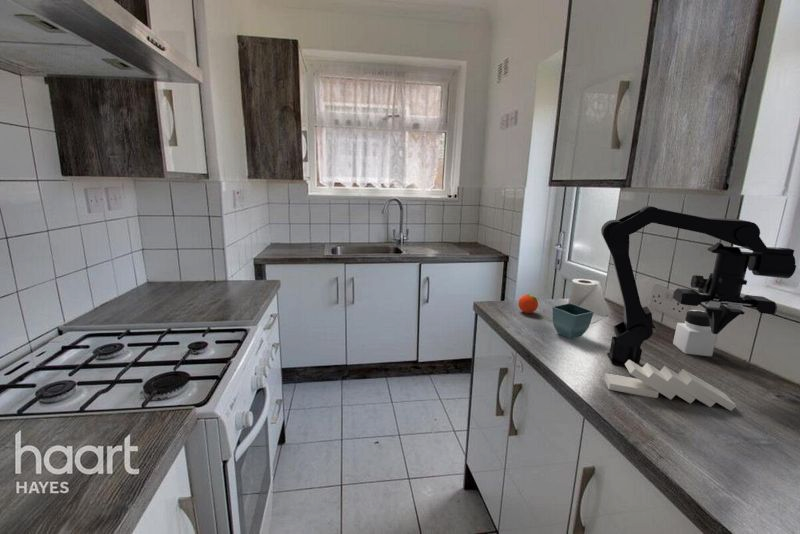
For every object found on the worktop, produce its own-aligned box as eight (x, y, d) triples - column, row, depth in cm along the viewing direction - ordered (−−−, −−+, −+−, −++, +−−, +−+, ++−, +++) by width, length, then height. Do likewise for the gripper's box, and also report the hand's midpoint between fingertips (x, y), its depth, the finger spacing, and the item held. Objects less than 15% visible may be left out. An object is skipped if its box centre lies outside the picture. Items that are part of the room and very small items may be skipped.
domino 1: (657, 398, 84) (608, 389, 87) (650, 387, 89) (604, 379, 92) (658, 392, 84) (609, 383, 87) (651, 381, 88) (605, 373, 91)
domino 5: (730, 411, 80) (686, 384, 82) (719, 398, 85) (677, 374, 86) (736, 405, 80) (692, 379, 81) (724, 393, 84) (682, 368, 86)
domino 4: (710, 407, 81) (667, 381, 83) (700, 395, 86) (659, 370, 87) (716, 402, 81) (672, 376, 82) (705, 390, 85) (664, 365, 87)
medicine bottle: (712, 357, 106) (722, 317, 103) (684, 354, 107) (693, 315, 104) (698, 346, 113) (707, 309, 110) (672, 343, 114) (680, 307, 111)
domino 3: (690, 403, 82) (648, 377, 84) (681, 392, 87) (642, 367, 89) (695, 398, 82) (653, 372, 83) (686, 387, 86) (646, 362, 88)
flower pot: (571, 343, 112) (575, 315, 110) (548, 332, 120) (551, 306, 118) (590, 338, 116) (594, 311, 114) (566, 328, 124) (570, 302, 122)
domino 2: (670, 399, 83) (630, 373, 85) (662, 388, 88) (624, 364, 90) (675, 394, 83) (634, 368, 84) (667, 383, 87) (629, 359, 89)
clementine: (542, 313, 137) (544, 294, 136) (536, 318, 132) (538, 299, 130) (521, 308, 142) (523, 290, 141) (514, 312, 137) (516, 294, 135)
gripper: (757, 269, 93) (742, 327, 96) (670, 262, 98) (659, 317, 102) (786, 280, 82) (768, 344, 86) (688, 271, 88) (675, 332, 91)
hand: (714, 333), depth 91 cm, fingers closed
